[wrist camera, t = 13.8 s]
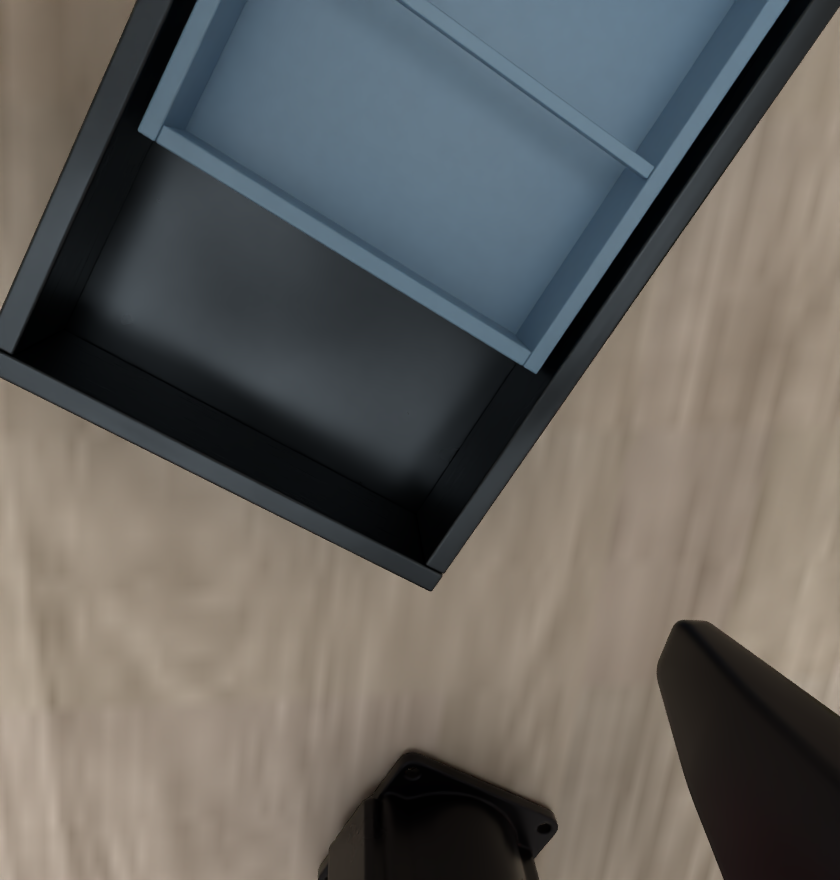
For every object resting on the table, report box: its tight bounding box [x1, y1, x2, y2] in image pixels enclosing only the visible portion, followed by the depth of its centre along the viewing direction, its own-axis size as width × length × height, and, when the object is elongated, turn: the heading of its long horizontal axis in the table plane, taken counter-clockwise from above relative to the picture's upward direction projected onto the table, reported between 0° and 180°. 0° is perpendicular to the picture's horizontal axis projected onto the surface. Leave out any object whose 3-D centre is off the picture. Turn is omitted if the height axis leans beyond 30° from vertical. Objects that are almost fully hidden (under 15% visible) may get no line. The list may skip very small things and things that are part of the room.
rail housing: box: [0, 0, 840, 591], centre depth 17 cm, size 17×12×4 cm
